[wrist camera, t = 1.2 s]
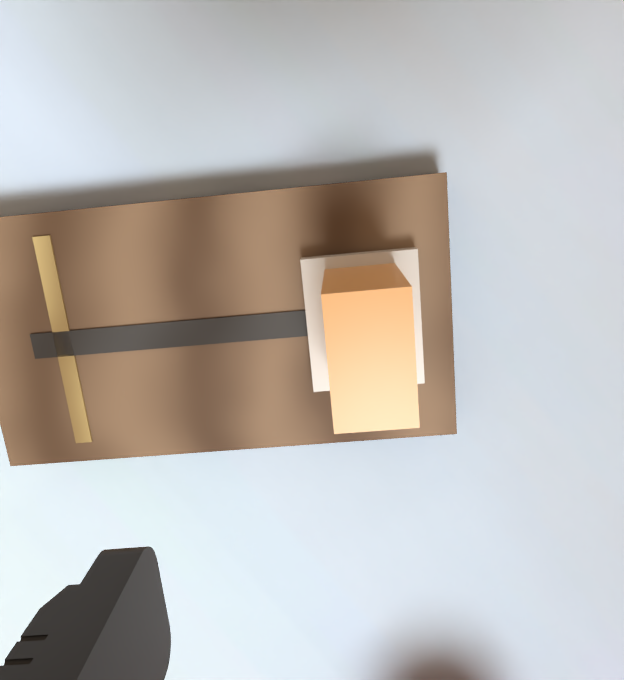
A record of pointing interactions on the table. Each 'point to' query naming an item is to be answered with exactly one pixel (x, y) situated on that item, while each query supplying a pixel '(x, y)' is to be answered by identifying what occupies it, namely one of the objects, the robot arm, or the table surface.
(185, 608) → the table surface
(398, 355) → the fader tab
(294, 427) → the fader board
